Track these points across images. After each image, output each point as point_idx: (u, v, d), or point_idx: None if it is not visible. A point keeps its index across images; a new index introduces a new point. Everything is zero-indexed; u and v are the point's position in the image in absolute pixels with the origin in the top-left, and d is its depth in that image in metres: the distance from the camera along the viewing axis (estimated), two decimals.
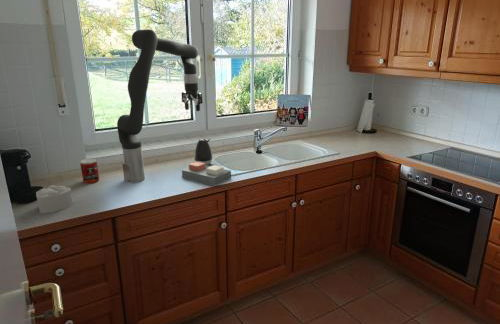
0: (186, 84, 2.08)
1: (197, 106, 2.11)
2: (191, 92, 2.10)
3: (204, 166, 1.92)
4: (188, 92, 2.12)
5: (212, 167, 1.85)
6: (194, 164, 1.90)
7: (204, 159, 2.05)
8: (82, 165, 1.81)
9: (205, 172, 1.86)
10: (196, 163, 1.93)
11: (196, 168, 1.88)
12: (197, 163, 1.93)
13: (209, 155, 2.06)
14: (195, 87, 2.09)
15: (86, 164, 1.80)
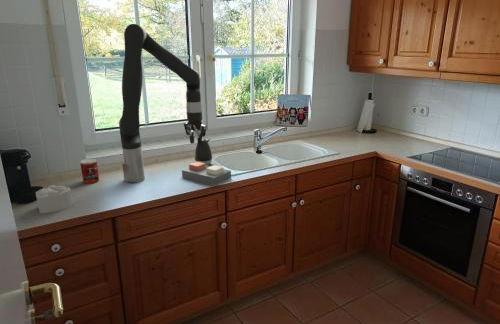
0: (189, 113, 1.80)
1: (199, 139, 1.85)
2: (194, 122, 1.83)
3: (204, 166, 1.92)
4: (191, 122, 1.85)
5: (212, 167, 1.85)
6: (194, 164, 1.90)
7: (204, 159, 2.05)
8: (82, 165, 1.81)
9: (205, 172, 1.86)
10: (196, 163, 1.93)
11: (196, 168, 1.88)
12: (197, 163, 1.93)
13: (209, 155, 2.06)
14: (199, 117, 1.81)
15: (86, 164, 1.80)
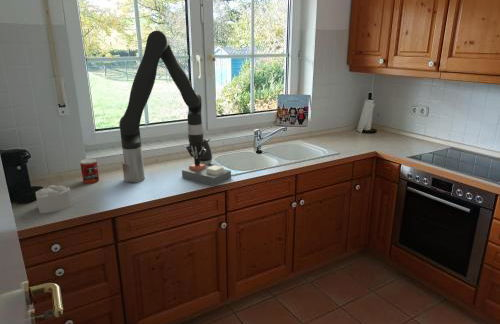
0: (190, 135, 1.84)
1: (197, 160, 1.90)
2: (196, 144, 1.87)
3: (204, 167, 1.92)
4: (192, 143, 1.88)
5: (212, 167, 1.85)
6: (194, 165, 1.91)
7: (204, 159, 2.05)
8: (82, 165, 1.81)
9: (205, 172, 1.86)
10: None
11: (196, 169, 1.88)
12: None
13: (209, 155, 2.06)
14: (200, 138, 1.85)
15: (86, 164, 1.80)
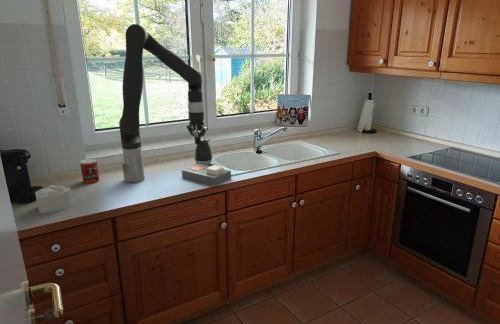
0: (190, 113, 1.80)
1: (197, 139, 1.86)
2: (196, 122, 1.83)
3: None
4: (193, 122, 1.84)
5: (212, 167, 1.85)
6: (194, 168, 1.91)
7: (204, 159, 2.05)
8: (82, 165, 1.81)
9: (205, 172, 1.86)
10: (196, 167, 1.93)
11: None
12: (198, 167, 1.93)
13: (209, 155, 2.06)
14: (201, 116, 1.81)
15: (86, 164, 1.80)
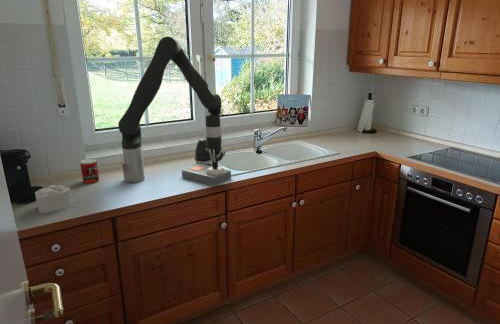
0: (208, 138, 1.77)
1: (215, 163, 1.83)
2: (214, 146, 1.80)
3: None
4: (210, 146, 1.81)
5: (212, 168, 1.85)
6: (194, 168, 1.91)
7: (204, 159, 2.05)
8: (82, 165, 1.81)
9: (205, 172, 1.86)
10: (196, 167, 1.93)
11: None
12: (198, 167, 1.93)
13: None
14: (219, 141, 1.78)
15: (86, 164, 1.80)
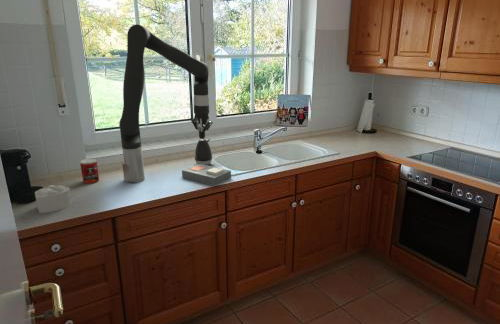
0: (196, 106, 1.77)
1: (202, 133, 1.83)
2: (201, 116, 1.80)
3: None
4: (198, 115, 1.81)
5: (212, 169, 1.86)
6: (194, 168, 1.91)
7: (204, 159, 2.05)
8: (82, 165, 1.81)
9: (205, 172, 1.86)
10: (196, 167, 1.93)
11: None
12: (198, 167, 1.93)
13: (209, 155, 2.06)
14: (206, 110, 1.78)
15: (86, 164, 1.80)
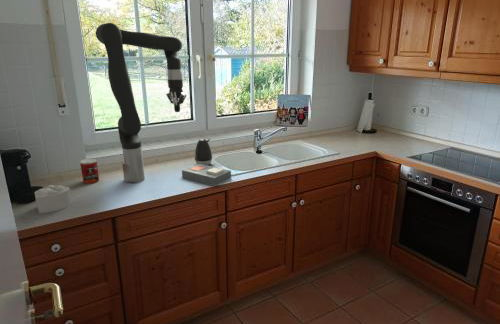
0: (169, 80, 1.86)
1: (177, 106, 1.92)
2: (175, 89, 1.89)
3: None
4: (172, 89, 1.91)
5: (212, 169, 1.86)
6: (194, 168, 1.91)
7: (204, 159, 2.05)
8: (82, 165, 1.81)
9: (205, 172, 1.86)
10: (196, 167, 1.93)
11: None
12: (198, 167, 1.93)
13: (209, 155, 2.06)
14: (179, 84, 1.87)
15: (86, 164, 1.80)
